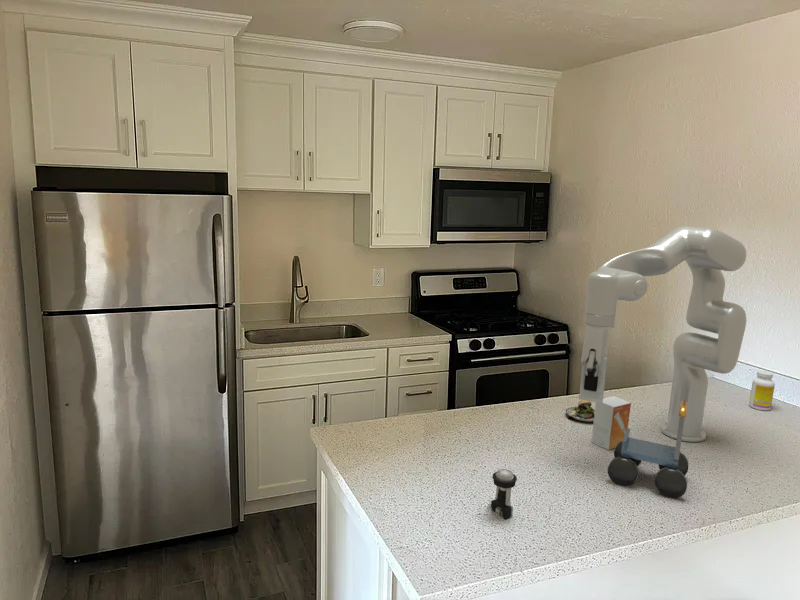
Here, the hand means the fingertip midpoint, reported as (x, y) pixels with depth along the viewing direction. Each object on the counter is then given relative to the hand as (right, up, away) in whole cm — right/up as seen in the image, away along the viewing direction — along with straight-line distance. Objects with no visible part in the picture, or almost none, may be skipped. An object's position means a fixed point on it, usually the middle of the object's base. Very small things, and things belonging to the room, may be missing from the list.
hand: (592, 386), depth 156 cm
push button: (-28, -25, -22) cm, 44 cm away
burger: (+9, -16, +36) cm, 41 cm away
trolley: (+12, -23, -5) cm, 27 cm away
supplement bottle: (+75, -15, +52) cm, 93 cm away
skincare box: (0, -4, +1) cm, 4 cm away
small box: (+10, -19, +17) cm, 28 cm away
